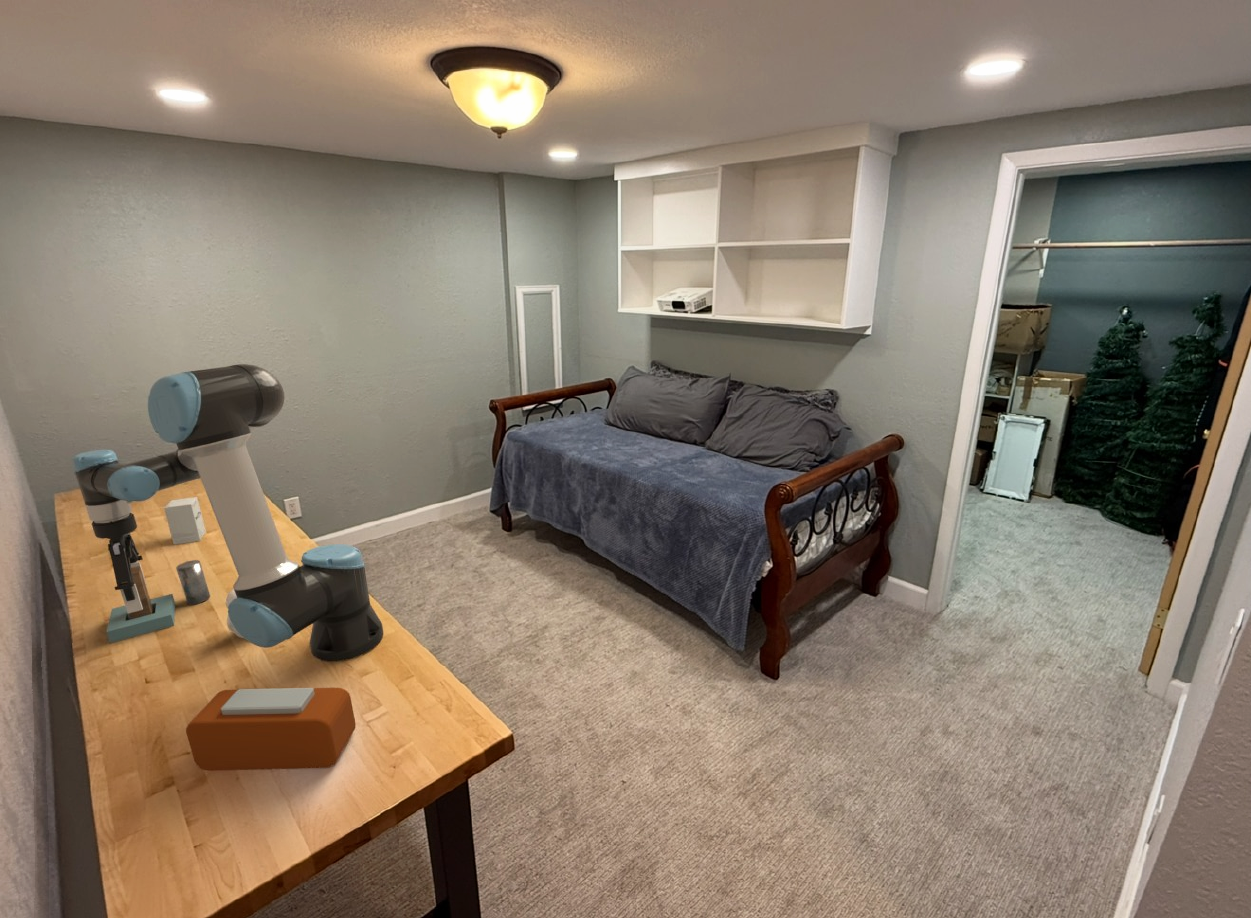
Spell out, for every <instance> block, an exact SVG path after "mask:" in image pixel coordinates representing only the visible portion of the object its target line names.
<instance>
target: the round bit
mask: <svg viewBox="0 0 1251 918" xmlns="http://www.w3.org/2000/svg"><path fill="white" fill-rule="evenodd" d="M175 569H176V572H177V575H178V578H179V581H180V584H181V587H182V591H183V594H184V597H185V599H186V603H187V604H188V605H197V604H201V603H203V602H205V601H208V600H209V599H210V598H211V594H210V591H209V587H208V584H207V580H206V577H205V573H204V570H203V567H202V563H201V562H200V560H198V559H195V560H194V559H192V560H189V561H188V560H187V561H184V562H183V563H180V564H179V565H177V566H176V568H175Z"/></svg>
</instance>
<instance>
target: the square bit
mask: <svg viewBox="0 0 1251 918" xmlns="http://www.w3.org/2000/svg"><path fill="white" fill-rule="evenodd" d="M141 568H142V566H141V567H140V566H137V567H132V568H131V571H132V577H133V582H134V584H135V585H136V588H137V591H138V594H139V598H140V601H141V604H142V607H143V610H140V611H136V612H132V613H128V614H129V617H130V620H131V619H135V618H139V617H142V616H146V615H150V614H154V611H153V608H152V604H151V601H150V599H151V598H150V595H149V591H148V588H147V583H146V584H145V581H146V580H145V581H144V578H145V576H144V577H143V575H144V573H143V574H142V571H143V569H142V570H141ZM123 583H126V582H123Z"/></svg>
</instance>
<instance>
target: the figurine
mask: <svg viewBox="0 0 1251 918" xmlns="http://www.w3.org/2000/svg"><path fill="white" fill-rule="evenodd" d="M235 598H237V596H236V593H235V591H234V589H232V590H231V591H230V592H229V593H228V594H227V596H226V599H225V600H226V601H225V604H226V605H225V606H226V608H227V611H228V610H229V609H228V606H229V604H230V603H231V602H232V601H233V599H235ZM226 625H227V629H229V631H231V632H232V633H234V635H236V636H237V637H238V638H240V639H245V638H244V637H243V636H241V635H240V633H239V632H238V631H237V630H236V629H235V627H234V626H233V624H232V622H231V620H230V618H229V615H228V614H227V618H226Z"/></svg>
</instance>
